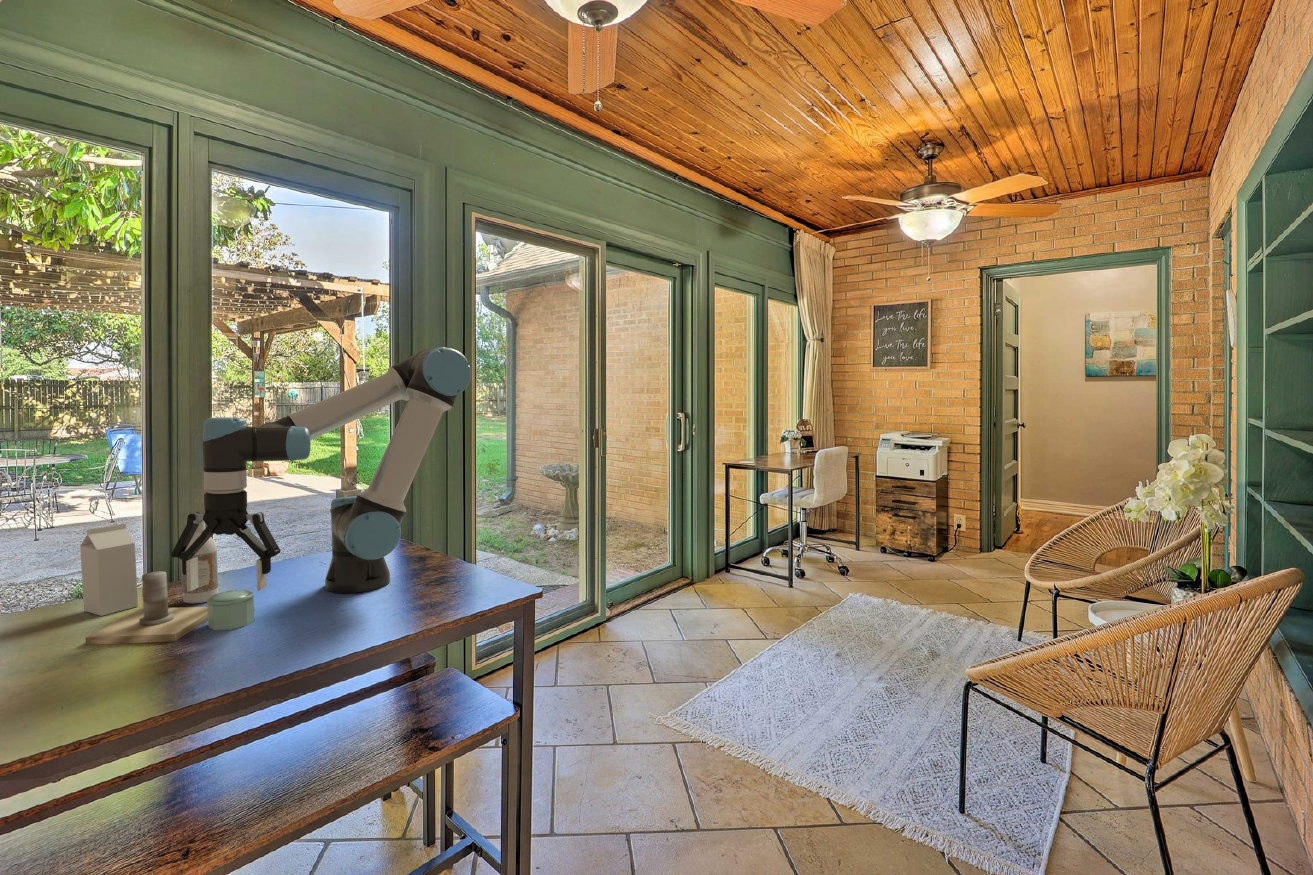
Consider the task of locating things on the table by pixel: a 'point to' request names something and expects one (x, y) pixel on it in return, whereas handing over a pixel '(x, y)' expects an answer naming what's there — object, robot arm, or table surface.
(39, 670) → the table surface
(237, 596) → the cap
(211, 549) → the bath foam
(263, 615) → the table surface
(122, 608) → the milk carton
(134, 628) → the stud board
